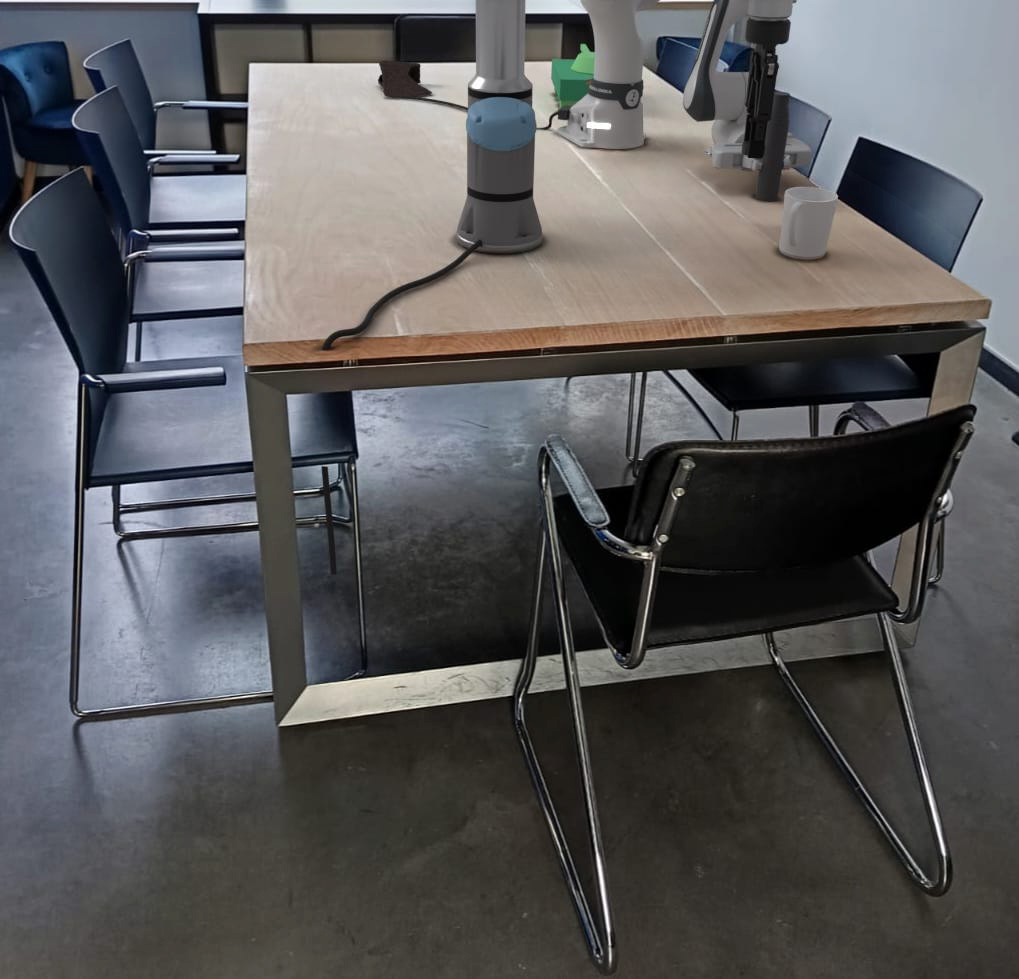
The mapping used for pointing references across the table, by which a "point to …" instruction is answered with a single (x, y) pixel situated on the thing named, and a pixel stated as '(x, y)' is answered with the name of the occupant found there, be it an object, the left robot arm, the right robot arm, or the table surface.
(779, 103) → the bottle
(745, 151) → the cap
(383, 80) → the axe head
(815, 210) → the mug
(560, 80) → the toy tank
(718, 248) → the table surface
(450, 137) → the table surface
